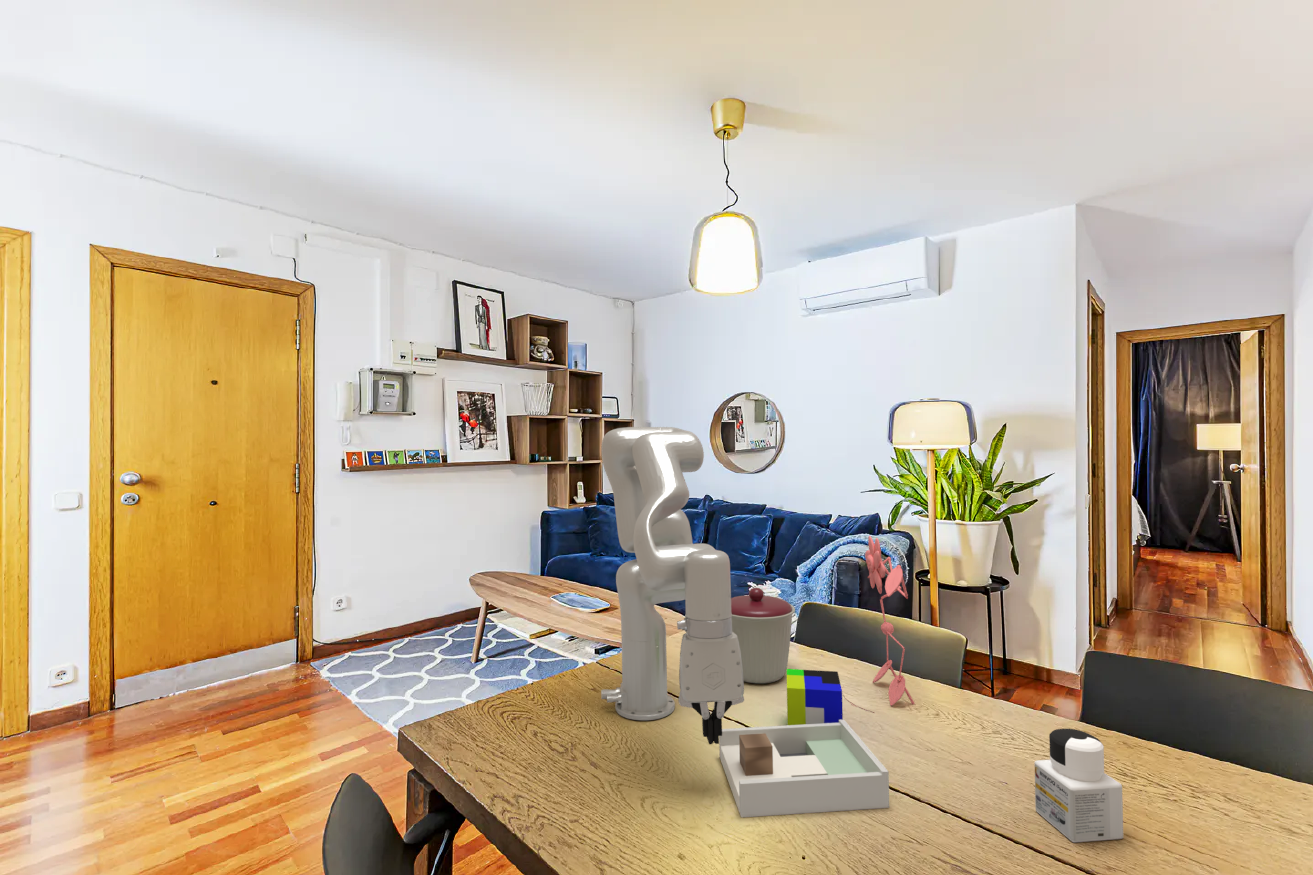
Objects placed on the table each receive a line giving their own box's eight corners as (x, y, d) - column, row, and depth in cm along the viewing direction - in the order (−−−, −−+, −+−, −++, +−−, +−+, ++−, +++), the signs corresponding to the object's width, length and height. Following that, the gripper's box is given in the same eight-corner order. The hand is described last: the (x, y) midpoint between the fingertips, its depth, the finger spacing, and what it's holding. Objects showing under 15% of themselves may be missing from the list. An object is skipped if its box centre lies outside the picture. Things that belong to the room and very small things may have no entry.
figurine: (895, 673, 150) (889, 527, 150) (931, 721, 124) (923, 545, 124) (830, 673, 151) (824, 528, 152) (851, 721, 126) (844, 547, 126)
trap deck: (741, 817, 94) (740, 780, 94) (719, 757, 112) (719, 726, 112) (889, 807, 95) (888, 771, 95) (844, 749, 113) (844, 719, 113)
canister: (796, 665, 156) (795, 580, 157) (796, 693, 139) (794, 598, 139) (724, 660, 161) (723, 578, 161) (715, 687, 143) (713, 595, 143)
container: (1034, 810, 94) (1032, 724, 94) (1082, 807, 95) (1080, 721, 95) (1072, 843, 86) (1070, 749, 86) (1124, 839, 87) (1122, 746, 87)
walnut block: (745, 775, 101) (745, 747, 101) (739, 761, 105) (739, 734, 105) (773, 774, 101) (772, 746, 101) (765, 759, 105) (765, 733, 105)
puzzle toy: (843, 745, 115) (842, 691, 115) (787, 741, 117) (786, 687, 117) (838, 721, 125) (837, 671, 125) (787, 717, 127) (786, 668, 127)
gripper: (665, 635, 98) (669, 754, 97) (759, 630, 99) (763, 747, 99) (661, 623, 106) (664, 733, 105) (748, 618, 107) (752, 727, 106)
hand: (712, 740), depth 102 cm, fingers closed
